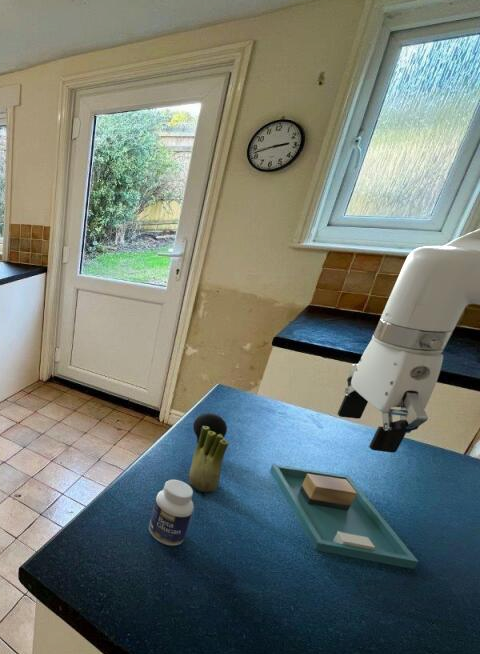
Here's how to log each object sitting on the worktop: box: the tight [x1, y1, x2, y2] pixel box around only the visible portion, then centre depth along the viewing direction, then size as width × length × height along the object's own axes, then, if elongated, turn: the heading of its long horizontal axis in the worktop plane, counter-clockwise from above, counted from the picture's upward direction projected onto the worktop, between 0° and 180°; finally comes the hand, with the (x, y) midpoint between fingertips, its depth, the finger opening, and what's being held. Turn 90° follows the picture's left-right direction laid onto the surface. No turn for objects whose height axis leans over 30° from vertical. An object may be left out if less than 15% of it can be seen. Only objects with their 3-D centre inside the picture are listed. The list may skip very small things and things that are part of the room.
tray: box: [269, 463, 420, 570], centre depth 71 cm, size 13×20×2 cm, turn 164°
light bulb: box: [192, 412, 228, 444], centre depth 84 cm, size 6×6×10 cm
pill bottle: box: [148, 479, 195, 547], centre depth 66 cm, size 5×5×10 cm
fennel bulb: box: [188, 426, 229, 493], centre depth 76 cm, size 6×5×12 cm
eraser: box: [300, 474, 357, 511], centre depth 73 cm, size 6×4×4 cm, turn 74°
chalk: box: [333, 532, 375, 550], centre depth 64 cm, size 4×2×2 cm, turn 73°
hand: (364, 432), depth 68 cm, fingers open, 9 cm apart
